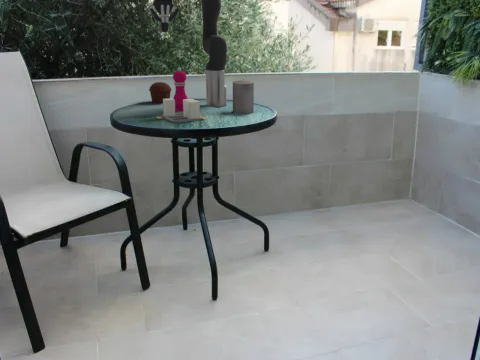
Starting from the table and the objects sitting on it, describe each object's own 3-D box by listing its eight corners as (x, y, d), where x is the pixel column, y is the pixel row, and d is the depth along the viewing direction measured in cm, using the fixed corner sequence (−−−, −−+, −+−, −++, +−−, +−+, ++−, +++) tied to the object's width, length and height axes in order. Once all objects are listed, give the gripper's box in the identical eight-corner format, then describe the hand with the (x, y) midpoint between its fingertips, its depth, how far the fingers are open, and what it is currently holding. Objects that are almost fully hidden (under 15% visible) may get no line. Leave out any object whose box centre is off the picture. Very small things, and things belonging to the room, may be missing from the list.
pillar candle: (236, 109, 219) (236, 77, 214) (256, 110, 216) (256, 78, 211) (229, 113, 211) (229, 79, 206) (249, 114, 208) (250, 80, 203)
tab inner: (172, 115, 197) (171, 98, 195) (175, 117, 194) (174, 99, 192) (163, 116, 195) (162, 98, 193) (166, 117, 193) (165, 100, 190)
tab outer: (196, 118, 192) (196, 100, 190) (199, 119, 190) (199, 101, 187) (187, 119, 191) (187, 101, 188) (190, 120, 188) (190, 102, 185)
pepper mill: (191, 111, 214) (190, 67, 207) (184, 113, 207) (183, 68, 201) (177, 110, 216) (175, 66, 209) (170, 112, 209) (168, 67, 203)
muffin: (176, 101, 238) (176, 82, 235) (162, 104, 229) (161, 84, 226) (159, 99, 244) (158, 80, 241) (144, 102, 235) (143, 82, 232)
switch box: (196, 115, 204) (196, 111, 203) (210, 121, 191) (210, 117, 191) (152, 119, 195) (152, 115, 194) (165, 126, 182) (164, 121, 182)
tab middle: (192, 116, 196) (191, 98, 194) (195, 117, 194) (194, 99, 191) (183, 117, 195) (183, 99, 192) (186, 118, 192) (186, 100, 189)
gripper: (174, -12, 193) (176, 32, 198) (144, -13, 187) (146, 32, 192) (181, -13, 187) (182, 32, 192) (149, -14, 181) (152, 32, 186)
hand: (164, 32), depth 192 cm, fingers closed
